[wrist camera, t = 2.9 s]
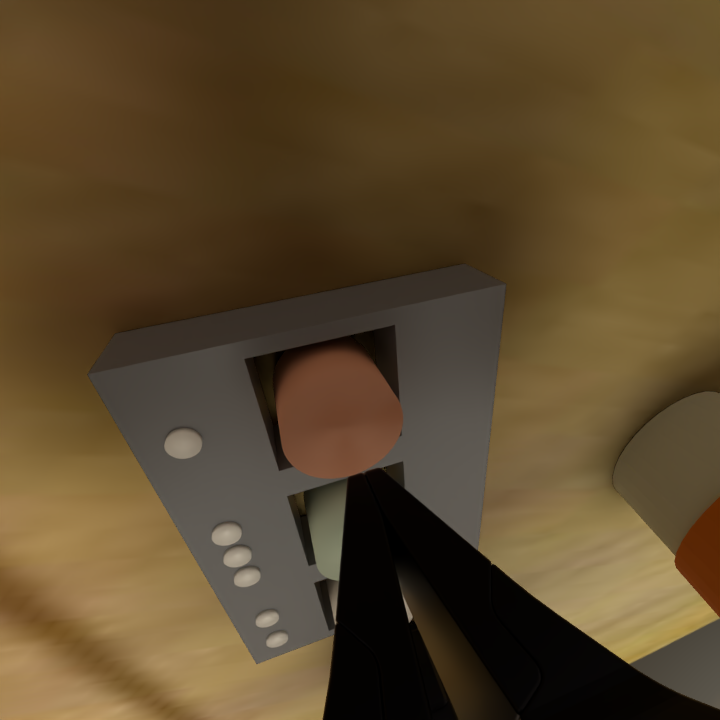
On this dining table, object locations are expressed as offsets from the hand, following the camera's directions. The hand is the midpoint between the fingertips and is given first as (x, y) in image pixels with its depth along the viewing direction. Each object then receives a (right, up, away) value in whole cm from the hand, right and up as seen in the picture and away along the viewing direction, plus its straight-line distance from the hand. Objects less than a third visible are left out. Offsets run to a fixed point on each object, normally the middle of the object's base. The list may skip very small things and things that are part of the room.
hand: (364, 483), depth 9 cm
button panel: (-1, -2, +8) cm, 8 cm away
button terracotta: (-1, +2, +4) cm, 5 cm away
